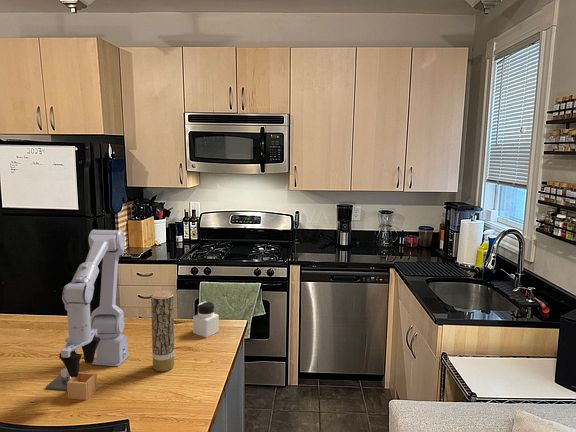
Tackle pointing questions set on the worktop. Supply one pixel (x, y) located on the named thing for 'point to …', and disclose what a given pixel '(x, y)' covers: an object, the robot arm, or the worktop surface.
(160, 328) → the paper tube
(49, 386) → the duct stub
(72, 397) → the brown hollow box
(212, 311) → the medicine bottle
